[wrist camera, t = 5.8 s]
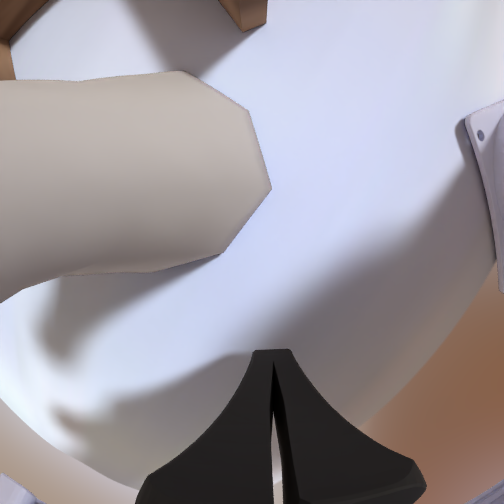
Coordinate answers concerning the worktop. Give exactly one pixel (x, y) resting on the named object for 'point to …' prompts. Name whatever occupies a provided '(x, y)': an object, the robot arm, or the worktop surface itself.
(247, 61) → the worktop surface
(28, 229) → the flask
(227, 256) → the worktop surface
